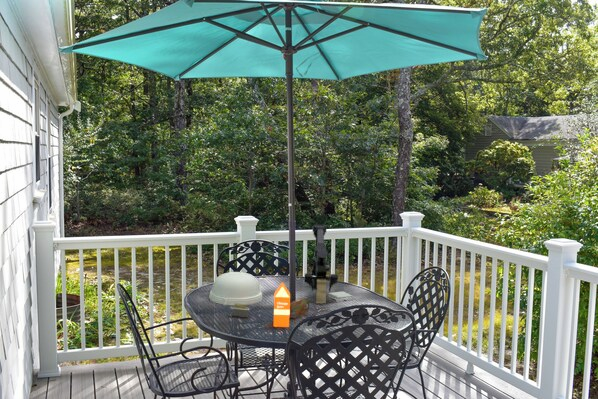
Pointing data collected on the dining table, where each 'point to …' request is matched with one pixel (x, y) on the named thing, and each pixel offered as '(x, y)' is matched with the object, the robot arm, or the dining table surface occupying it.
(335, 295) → the stone trivet
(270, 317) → the dining table surface
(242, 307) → the platform
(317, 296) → the oak block
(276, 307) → the orange juice
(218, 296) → the dome cover
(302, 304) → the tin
